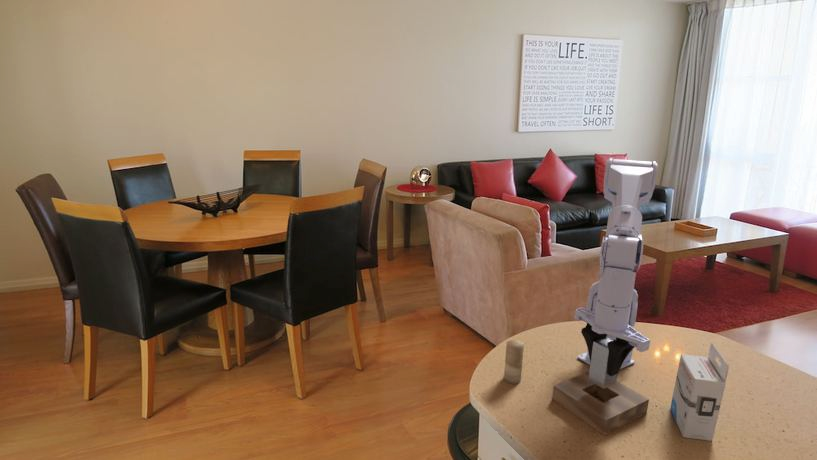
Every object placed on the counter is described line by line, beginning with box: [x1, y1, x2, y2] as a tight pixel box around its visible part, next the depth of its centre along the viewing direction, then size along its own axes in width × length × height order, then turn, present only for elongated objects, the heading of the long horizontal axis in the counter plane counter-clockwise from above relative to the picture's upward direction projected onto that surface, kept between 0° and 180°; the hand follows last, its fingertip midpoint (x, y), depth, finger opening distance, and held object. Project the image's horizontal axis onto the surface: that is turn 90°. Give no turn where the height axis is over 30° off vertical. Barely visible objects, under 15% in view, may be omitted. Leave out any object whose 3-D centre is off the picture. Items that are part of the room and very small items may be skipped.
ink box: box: [670, 342, 730, 442], centre depth 91 cm, size 9×5×15 cm, turn 168°
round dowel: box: [503, 339, 525, 385], centre depth 105 cm, size 3×3×8 cm
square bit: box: [588, 337, 618, 389], centre depth 95 cm, size 3×3×8 cm
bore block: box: [551, 370, 650, 436], centre depth 97 cm, size 12×12×3 cm
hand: (603, 368), depth 96 cm, fingers closed on square bit, 3 cm apart
